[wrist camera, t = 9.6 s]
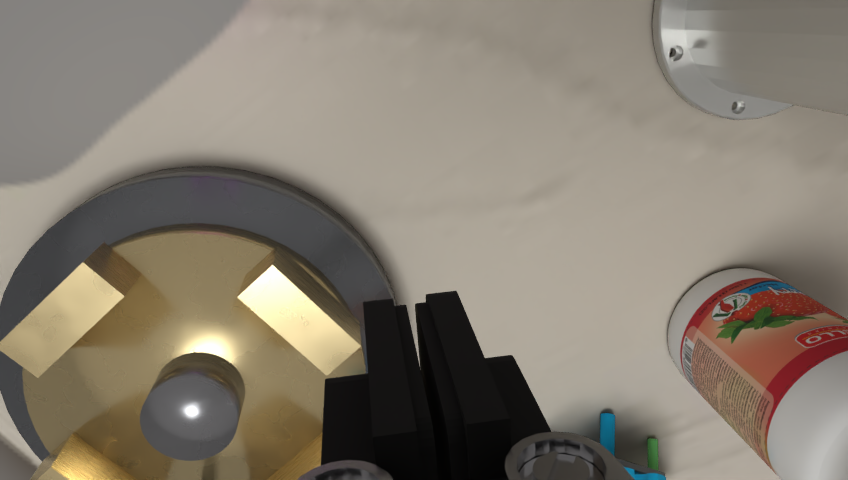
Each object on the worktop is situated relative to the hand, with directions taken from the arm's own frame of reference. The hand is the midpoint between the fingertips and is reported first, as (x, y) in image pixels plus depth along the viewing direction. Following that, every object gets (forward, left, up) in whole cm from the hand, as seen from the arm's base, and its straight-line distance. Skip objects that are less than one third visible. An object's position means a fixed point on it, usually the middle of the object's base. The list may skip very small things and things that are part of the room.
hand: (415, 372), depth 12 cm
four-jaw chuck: (+15, +9, -26) cm, 31 cm away
